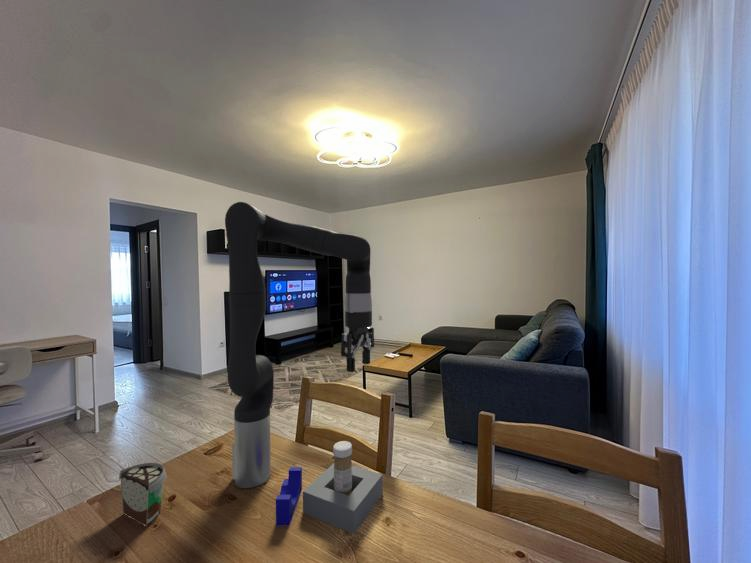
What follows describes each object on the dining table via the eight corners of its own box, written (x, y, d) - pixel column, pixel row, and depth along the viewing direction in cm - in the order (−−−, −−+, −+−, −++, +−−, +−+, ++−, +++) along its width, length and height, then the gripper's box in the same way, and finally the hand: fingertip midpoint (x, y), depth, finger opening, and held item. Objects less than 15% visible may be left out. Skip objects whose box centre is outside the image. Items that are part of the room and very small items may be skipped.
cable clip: (284, 490, 81) (284, 467, 81) (301, 490, 81) (301, 467, 81) (269, 526, 69) (268, 499, 69) (289, 526, 69) (289, 499, 69)
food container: (178, 510, 74) (178, 468, 74) (150, 529, 68) (150, 484, 68) (147, 496, 79) (147, 456, 79) (119, 512, 73) (119, 470, 73)
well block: (302, 512, 73) (302, 491, 73) (336, 478, 85) (336, 460, 85) (354, 534, 66) (354, 510, 66) (382, 494, 79) (382, 474, 79)
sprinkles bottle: (349, 491, 79) (349, 438, 79) (354, 504, 74) (354, 448, 74) (331, 496, 77) (331, 442, 77) (335, 508, 73) (335, 451, 73)
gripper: (359, 307, 95) (360, 360, 95) (332, 311, 82) (333, 372, 82) (381, 307, 91) (382, 363, 91) (357, 312, 78) (357, 376, 78)
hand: (358, 367), depth 87 cm, fingers open, 8 cm apart
